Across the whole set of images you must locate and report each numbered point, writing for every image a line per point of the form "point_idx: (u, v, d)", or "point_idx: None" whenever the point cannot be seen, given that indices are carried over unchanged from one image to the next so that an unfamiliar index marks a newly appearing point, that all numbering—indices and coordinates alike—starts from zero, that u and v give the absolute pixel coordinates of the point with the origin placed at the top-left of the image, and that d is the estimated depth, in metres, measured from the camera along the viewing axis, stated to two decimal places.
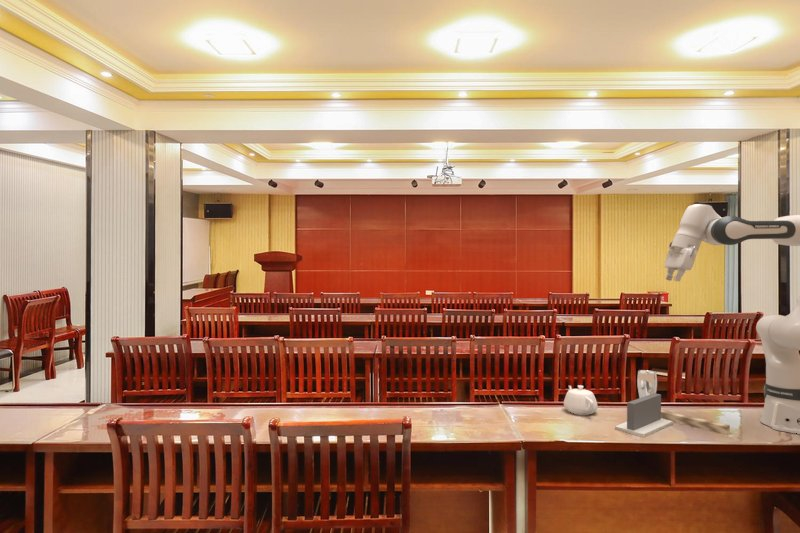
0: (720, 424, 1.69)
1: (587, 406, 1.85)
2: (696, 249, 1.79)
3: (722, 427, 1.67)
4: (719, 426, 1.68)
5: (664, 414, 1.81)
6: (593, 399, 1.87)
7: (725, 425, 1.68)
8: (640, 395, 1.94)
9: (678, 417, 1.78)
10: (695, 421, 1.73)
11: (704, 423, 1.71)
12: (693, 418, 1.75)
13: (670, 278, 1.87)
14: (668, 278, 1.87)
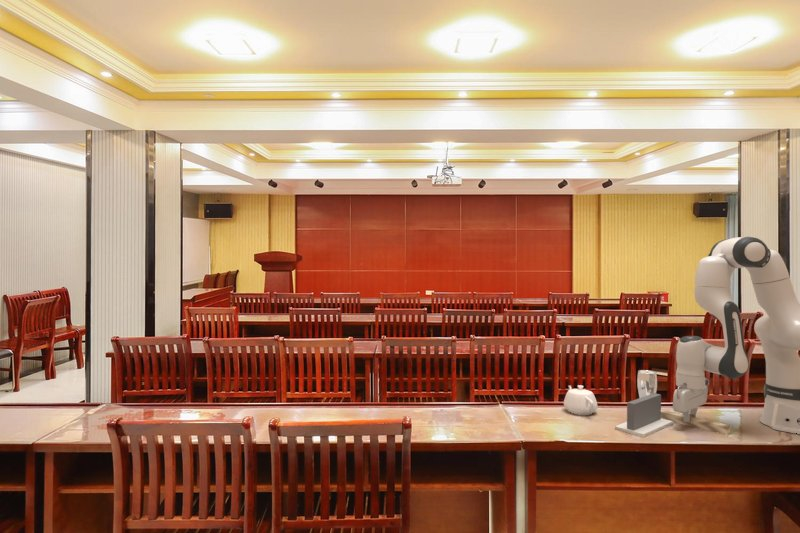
0: (720, 424, 1.69)
1: (587, 406, 1.85)
2: (695, 386, 1.72)
3: (722, 427, 1.67)
4: (719, 426, 1.68)
5: (664, 414, 1.81)
6: (593, 399, 1.87)
7: (725, 425, 1.68)
8: (640, 395, 1.94)
9: (678, 417, 1.78)
10: (695, 421, 1.73)
11: (704, 423, 1.71)
12: (693, 418, 1.75)
13: None
14: None
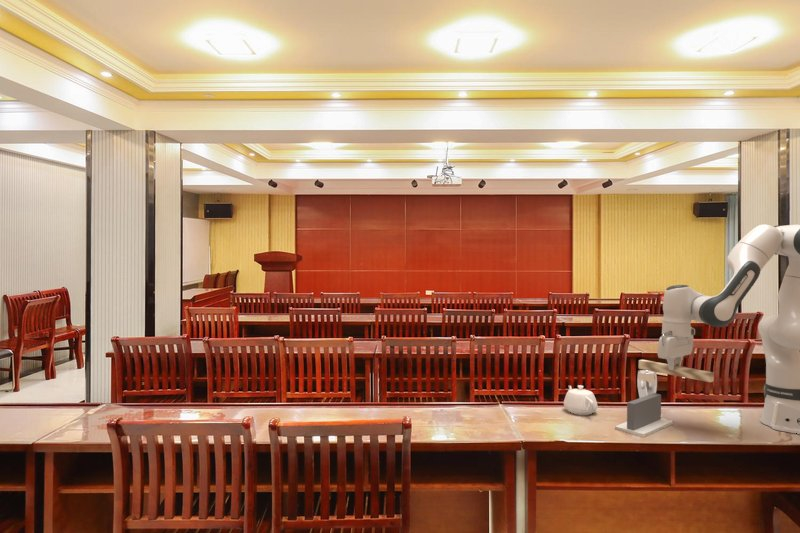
0: (704, 371, 1.68)
1: (587, 406, 1.85)
2: (680, 334, 1.71)
3: (706, 374, 1.66)
4: (703, 373, 1.67)
5: (649, 363, 1.80)
6: (593, 399, 1.87)
7: (709, 372, 1.67)
8: (640, 395, 1.94)
9: (663, 366, 1.77)
10: (679, 369, 1.72)
11: (688, 371, 1.70)
12: (678, 366, 1.74)
13: None
14: None
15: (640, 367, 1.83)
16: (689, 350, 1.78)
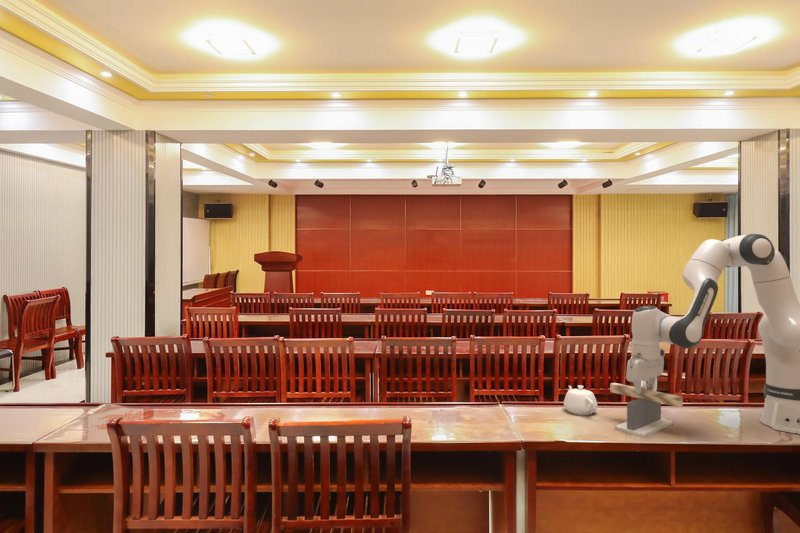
0: (673, 395, 1.66)
1: (587, 406, 1.85)
2: (649, 356, 1.69)
3: (674, 398, 1.65)
4: (672, 397, 1.65)
5: (620, 387, 1.79)
6: (593, 399, 1.87)
7: (678, 396, 1.65)
8: None
9: (633, 390, 1.75)
10: (649, 393, 1.71)
11: (657, 395, 1.69)
12: (648, 390, 1.73)
13: (650, 387, 1.76)
14: (648, 387, 1.76)
15: (612, 391, 1.82)
16: (659, 371, 1.77)
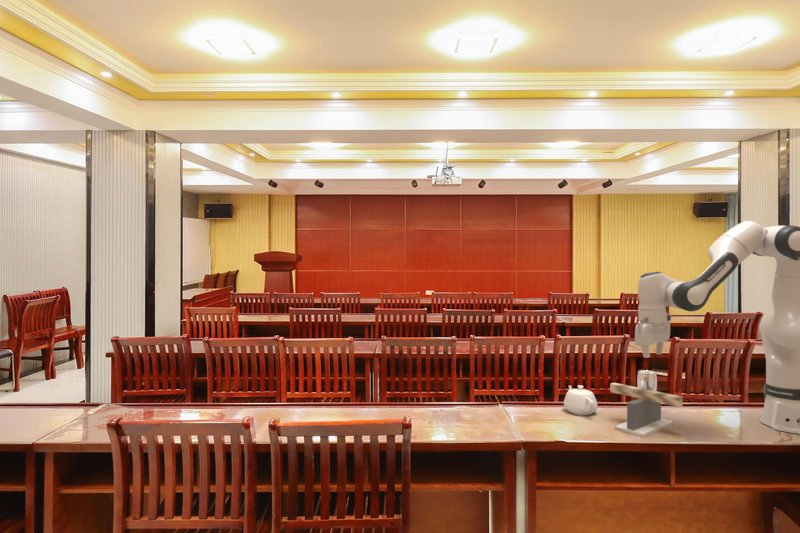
0: (673, 395, 1.66)
1: (587, 406, 1.85)
2: (656, 320, 1.72)
3: (674, 398, 1.65)
4: (672, 397, 1.65)
5: (620, 387, 1.79)
6: (593, 399, 1.87)
7: (678, 396, 1.65)
8: None
9: (633, 390, 1.75)
10: (649, 393, 1.71)
11: (657, 395, 1.69)
12: (648, 390, 1.73)
13: (658, 351, 1.79)
14: (657, 352, 1.79)
15: (612, 391, 1.82)
16: (666, 336, 1.80)
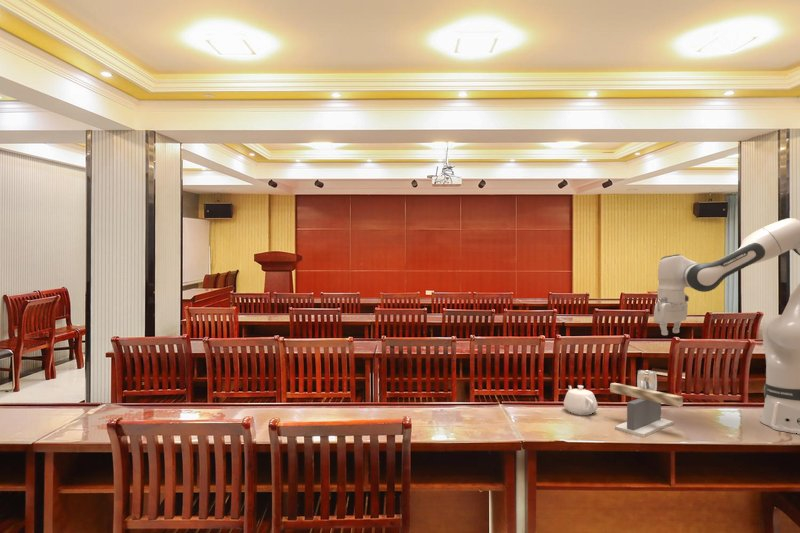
0: (673, 395, 1.66)
1: (587, 406, 1.85)
2: (675, 300, 1.82)
3: (674, 398, 1.65)
4: (672, 397, 1.65)
5: (620, 387, 1.79)
6: (593, 399, 1.87)
7: (678, 396, 1.65)
8: None
9: (633, 390, 1.75)
10: (649, 393, 1.71)
11: (657, 395, 1.69)
12: (648, 390, 1.73)
13: (676, 330, 1.88)
14: (674, 331, 1.89)
15: (612, 391, 1.82)
16: (684, 316, 1.89)
